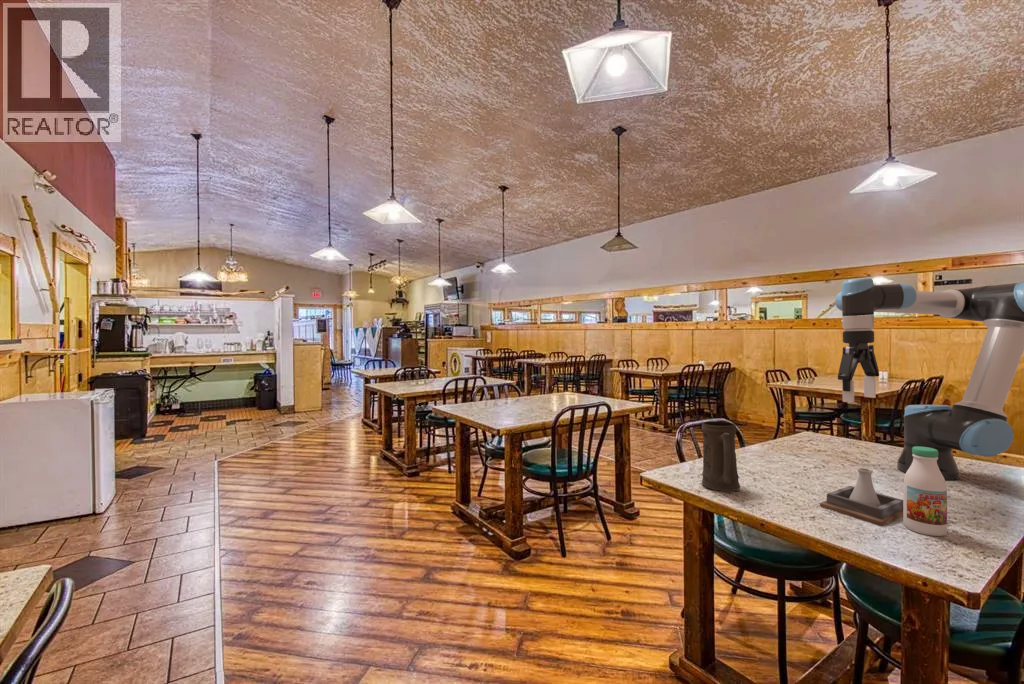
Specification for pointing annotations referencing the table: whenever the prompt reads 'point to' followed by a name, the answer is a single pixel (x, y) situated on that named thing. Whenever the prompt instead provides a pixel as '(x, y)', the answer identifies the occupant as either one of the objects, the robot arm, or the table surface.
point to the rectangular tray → (864, 507)
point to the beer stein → (719, 456)
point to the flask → (865, 489)
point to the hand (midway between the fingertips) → (859, 399)
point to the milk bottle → (925, 494)
